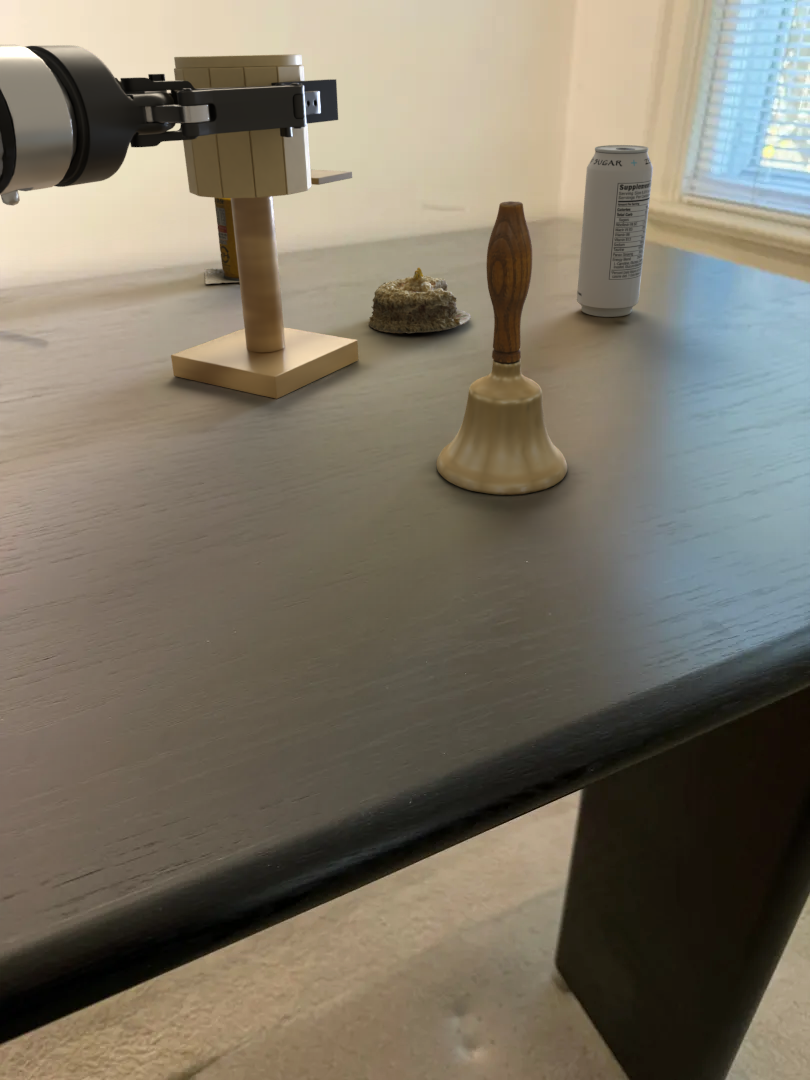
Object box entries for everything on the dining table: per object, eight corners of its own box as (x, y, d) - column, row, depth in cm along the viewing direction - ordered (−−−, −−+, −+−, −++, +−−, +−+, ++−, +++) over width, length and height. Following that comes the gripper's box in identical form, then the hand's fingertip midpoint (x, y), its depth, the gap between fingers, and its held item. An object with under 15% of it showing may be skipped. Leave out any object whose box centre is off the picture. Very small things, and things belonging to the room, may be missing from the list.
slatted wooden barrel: (166, 193, 67) (146, 57, 62) (279, 173, 76) (270, 54, 72) (257, 201, 62) (244, 55, 58) (365, 178, 72) (360, 52, 68)
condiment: (280, 280, 102) (270, 169, 97) (205, 285, 101) (191, 172, 95) (275, 267, 109) (265, 161, 103) (204, 271, 107) (191, 164, 101)
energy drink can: (606, 299, 93) (621, 143, 85) (650, 311, 88) (669, 147, 81) (563, 308, 90) (574, 147, 82) (605, 321, 85) (621, 152, 78)
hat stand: (173, 376, 73) (133, 107, 64) (260, 342, 81) (236, 99, 72) (276, 399, 68) (250, 110, 58) (358, 360, 76) (347, 101, 66)
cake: (379, 347, 81) (372, 288, 79) (361, 320, 90) (354, 266, 87) (483, 330, 82) (480, 271, 80) (456, 305, 91) (452, 251, 88)
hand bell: (582, 492, 53) (607, 212, 45) (444, 498, 53) (446, 216, 45) (551, 438, 60) (568, 189, 53) (429, 444, 60) (429, 193, 52)
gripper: (-57, 179, 59) (186, 147, 75) (181, 199, 48) (402, 157, 65) (-90, 49, 55) (173, 46, 72) (160, 41, 45) (400, 40, 61)
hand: (282, 99), depth 68 cm, fingers closed on slatted wooden barrel, 9 cm apart
